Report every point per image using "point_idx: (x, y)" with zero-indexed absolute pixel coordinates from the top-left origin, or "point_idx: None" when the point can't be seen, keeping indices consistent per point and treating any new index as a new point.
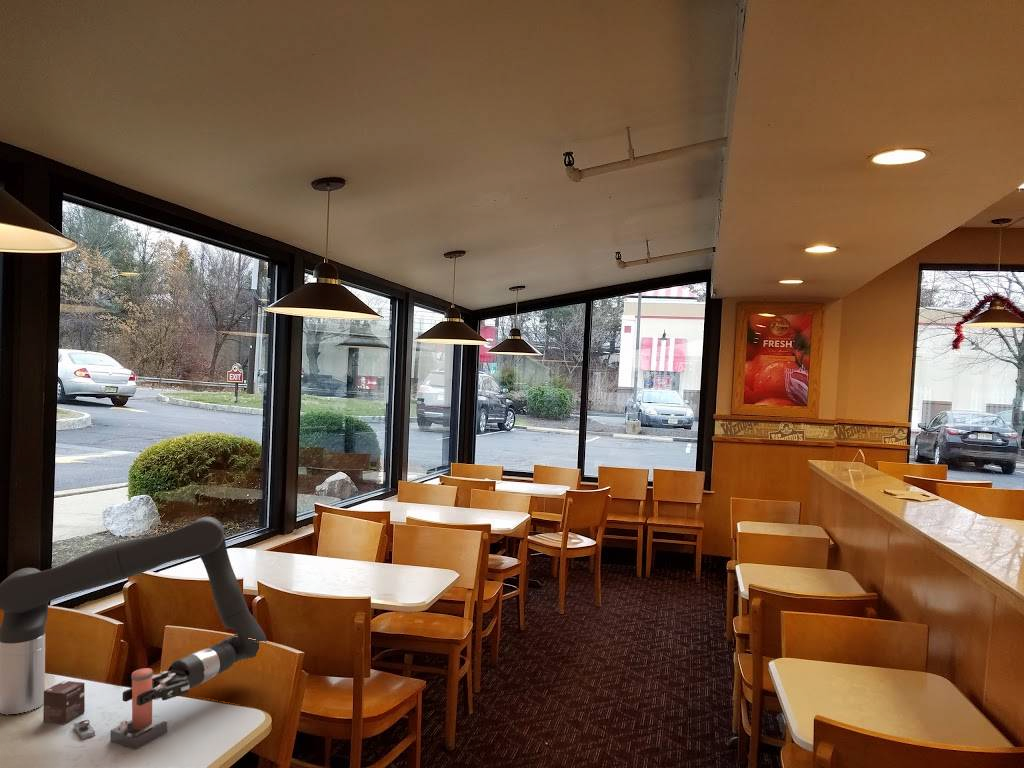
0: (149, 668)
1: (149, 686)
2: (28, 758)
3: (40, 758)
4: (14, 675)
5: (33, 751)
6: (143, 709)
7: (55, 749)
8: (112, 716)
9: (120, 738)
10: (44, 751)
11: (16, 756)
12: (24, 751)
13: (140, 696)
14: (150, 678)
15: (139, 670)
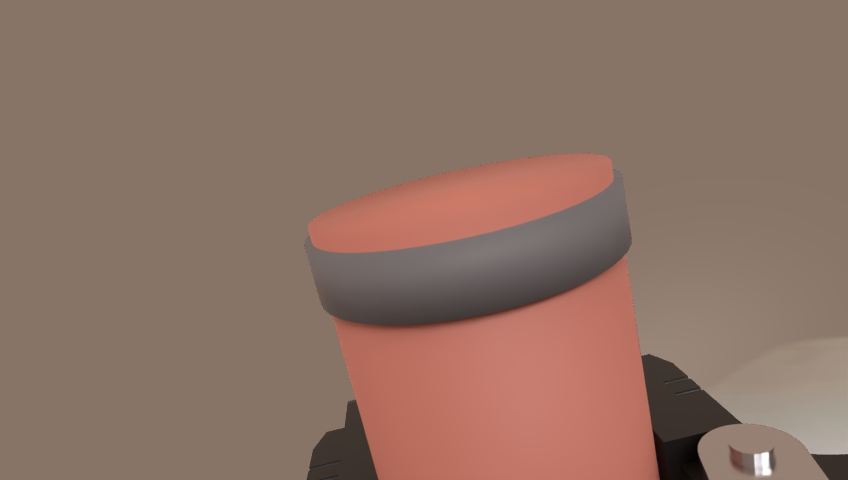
0: (493, 211)
1: (369, 438)
2: (748, 371)
3: (715, 393)
4: None
5: (819, 382)
6: None
7: None
8: None
9: None
10: (789, 406)
11: (801, 350)
12: (842, 365)
13: (349, 409)
14: (342, 336)
15: (550, 169)
